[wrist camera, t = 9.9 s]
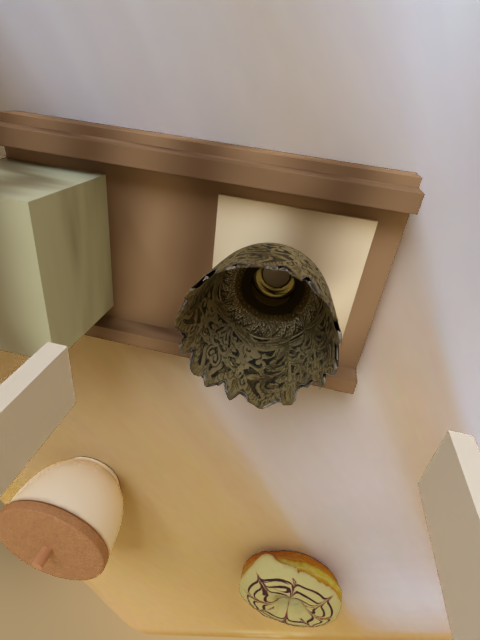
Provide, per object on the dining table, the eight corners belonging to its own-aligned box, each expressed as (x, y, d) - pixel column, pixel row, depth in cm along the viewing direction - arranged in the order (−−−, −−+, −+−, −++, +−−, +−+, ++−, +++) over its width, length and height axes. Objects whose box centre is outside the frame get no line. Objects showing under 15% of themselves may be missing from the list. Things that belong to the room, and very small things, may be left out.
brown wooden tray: (48, 307, 31) (-37, 372, 24) (16, 110, 24) (-121, 117, 17) (349, 372, 28) (355, 466, 21) (416, 173, 21) (461, 213, 14)
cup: (263, 344, 27) (240, 429, 20) (194, 259, 24) (142, 322, 18) (362, 290, 23) (375, 370, 16) (292, 187, 21) (274, 230, 14)
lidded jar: (31, 467, 43) (-37, 552, 35) (73, 424, 38) (4, 512, 30) (109, 519, 45) (62, 610, 37) (159, 485, 40) (116, 582, 32)
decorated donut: (250, 532, 41) (243, 568, 38) (351, 558, 40) (353, 599, 37) (239, 581, 47) (232, 616, 43) (328, 605, 45) (328, 644, 42)
